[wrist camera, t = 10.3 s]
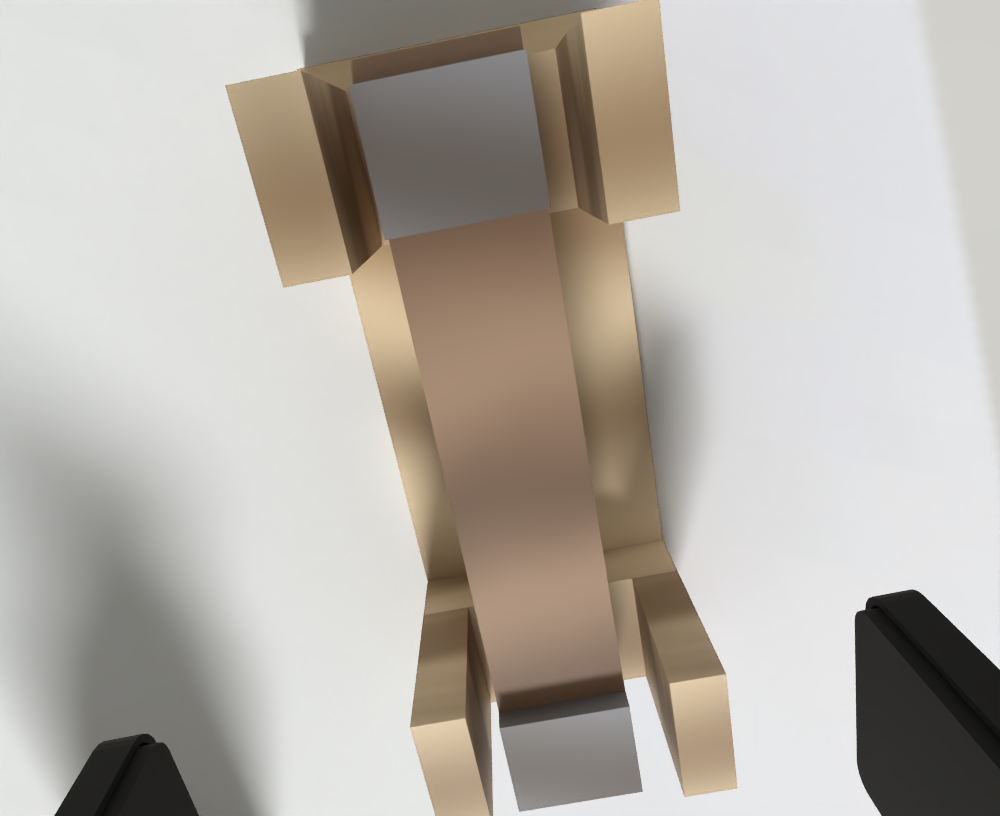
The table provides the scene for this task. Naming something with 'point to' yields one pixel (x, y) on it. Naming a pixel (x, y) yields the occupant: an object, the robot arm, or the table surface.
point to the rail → (502, 397)
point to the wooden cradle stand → (595, 352)
